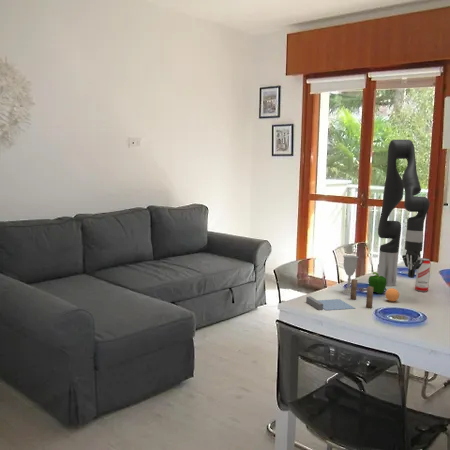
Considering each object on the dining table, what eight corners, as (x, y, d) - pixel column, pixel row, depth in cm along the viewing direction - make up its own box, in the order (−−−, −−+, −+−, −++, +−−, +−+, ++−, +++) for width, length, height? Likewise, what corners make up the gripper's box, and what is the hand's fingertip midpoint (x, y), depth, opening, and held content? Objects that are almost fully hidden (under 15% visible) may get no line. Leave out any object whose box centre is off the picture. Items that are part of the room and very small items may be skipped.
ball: (382, 299, 230) (383, 287, 229) (393, 299, 231) (394, 286, 231) (389, 303, 224) (390, 290, 223) (401, 302, 226) (402, 289, 225)
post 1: (349, 298, 230) (350, 279, 229) (354, 298, 231) (355, 279, 230) (352, 299, 228) (353, 280, 227) (357, 299, 229) (358, 280, 227)
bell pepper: (386, 291, 245) (388, 271, 243) (384, 295, 237) (386, 275, 236) (369, 289, 248) (370, 269, 247) (366, 293, 241) (368, 272, 239)
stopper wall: (306, 302, 222) (306, 296, 222) (310, 301, 223) (310, 296, 222) (318, 310, 211) (318, 304, 210) (322, 309, 211) (323, 304, 211)
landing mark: (311, 301, 224) (311, 300, 224) (339, 299, 228) (339, 299, 228) (326, 310, 211) (326, 309, 211) (355, 308, 215) (355, 308, 215)
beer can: (429, 292, 245) (432, 260, 243) (416, 291, 246) (418, 259, 244) (427, 289, 251) (429, 258, 249) (413, 288, 252) (416, 257, 250)
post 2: (364, 306, 218) (366, 286, 217) (369, 306, 219) (371, 286, 217) (368, 308, 215) (369, 288, 214) (373, 308, 216) (374, 287, 215)
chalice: (356, 292, 241) (359, 255, 239) (355, 295, 235) (358, 258, 233) (341, 290, 244) (343, 254, 241) (339, 294, 237) (342, 257, 235)
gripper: (398, 238, 232) (395, 274, 234) (416, 242, 219) (413, 281, 221) (411, 238, 234) (409, 274, 236) (430, 242, 222) (427, 280, 224)
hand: (411, 277), depth 229 cm, fingers closed
